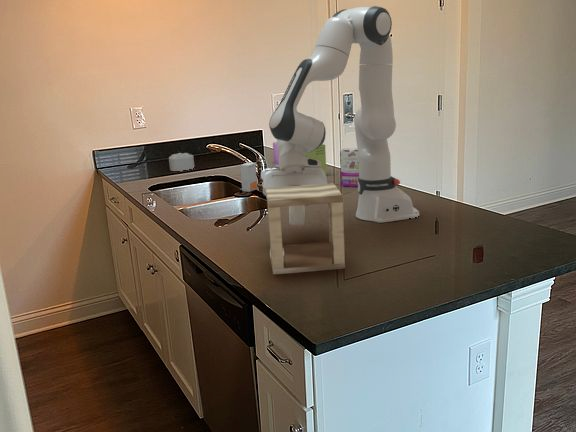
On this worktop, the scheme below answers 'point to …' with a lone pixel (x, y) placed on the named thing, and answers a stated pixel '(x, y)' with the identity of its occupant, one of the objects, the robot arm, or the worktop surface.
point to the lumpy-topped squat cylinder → (181, 162)
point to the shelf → (310, 253)
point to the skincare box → (248, 177)
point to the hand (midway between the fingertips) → (296, 205)
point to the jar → (297, 214)
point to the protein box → (319, 156)
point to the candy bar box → (349, 167)
